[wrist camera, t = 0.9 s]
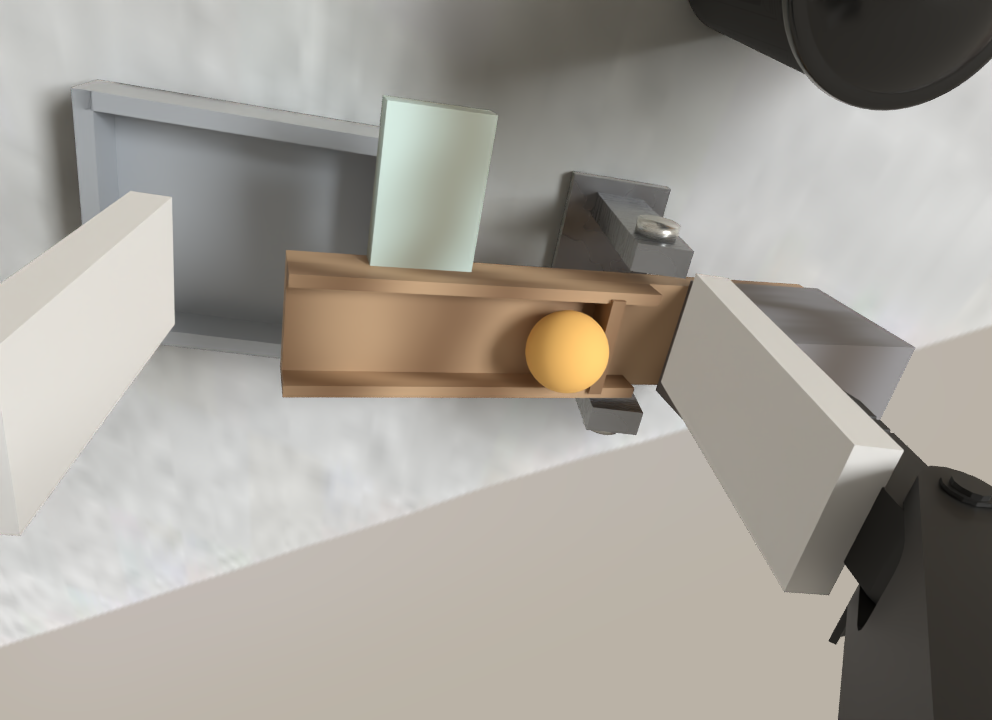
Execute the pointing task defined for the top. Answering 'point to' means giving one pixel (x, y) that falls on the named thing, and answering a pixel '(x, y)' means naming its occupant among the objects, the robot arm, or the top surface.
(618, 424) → the stand
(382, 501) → the top surface
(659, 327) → the lever
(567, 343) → the ball
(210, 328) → the dish
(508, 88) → the top surface
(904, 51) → the drinking cup
